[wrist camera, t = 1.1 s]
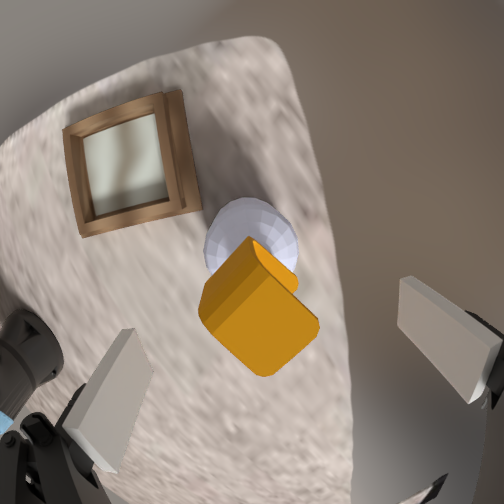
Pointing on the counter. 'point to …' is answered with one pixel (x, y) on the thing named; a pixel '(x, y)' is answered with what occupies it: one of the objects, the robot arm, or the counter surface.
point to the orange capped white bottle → (255, 287)
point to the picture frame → (131, 164)
